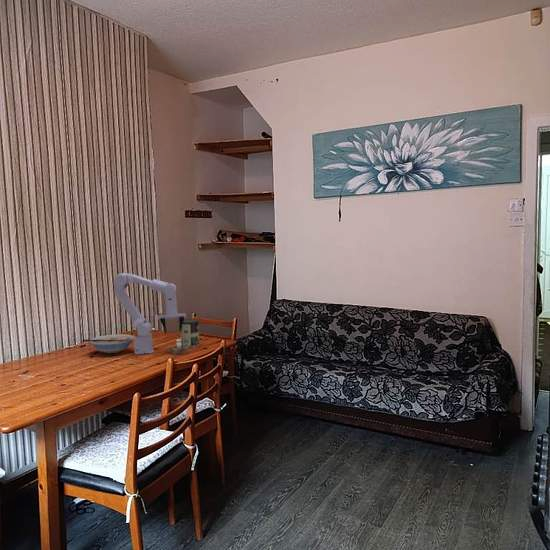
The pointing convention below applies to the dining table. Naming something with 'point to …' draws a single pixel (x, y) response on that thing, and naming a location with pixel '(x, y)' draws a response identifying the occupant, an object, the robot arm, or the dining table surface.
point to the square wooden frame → (179, 350)
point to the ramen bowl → (111, 343)
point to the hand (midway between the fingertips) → (172, 331)
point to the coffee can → (190, 333)
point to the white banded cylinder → (178, 343)
